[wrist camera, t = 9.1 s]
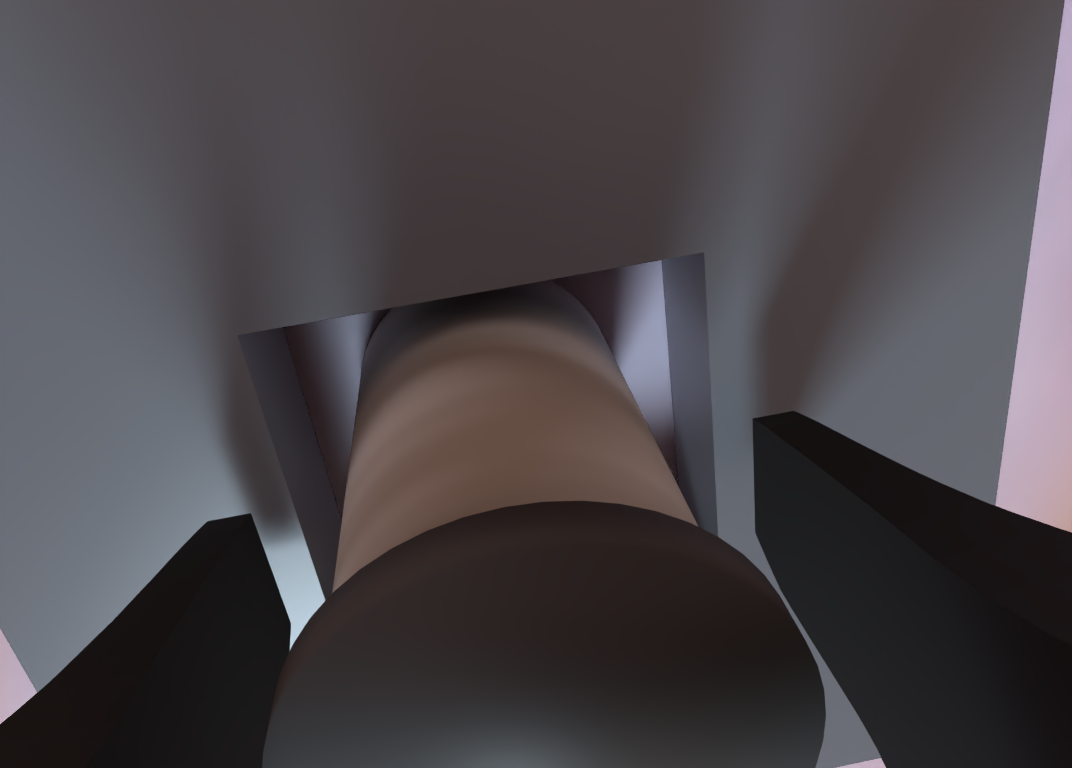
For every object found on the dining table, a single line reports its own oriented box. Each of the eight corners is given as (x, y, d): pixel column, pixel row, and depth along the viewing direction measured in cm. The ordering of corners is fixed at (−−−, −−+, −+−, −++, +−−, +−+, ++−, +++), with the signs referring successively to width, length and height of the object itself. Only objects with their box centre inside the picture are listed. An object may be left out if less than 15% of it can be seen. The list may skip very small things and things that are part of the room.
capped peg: (375, 531, 16) (343, 988, 9) (301, 273, 14) (176, 616, 6) (644, 479, 16) (822, 883, 9) (617, 217, 14) (831, 487, 7)
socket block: (193, 794, 18) (162, 909, 16) (-206, -7, 11) (-362, 1, 9) (899, 650, 19) (962, 740, 17) (967, -188, 12) (1094, -222, 10)
